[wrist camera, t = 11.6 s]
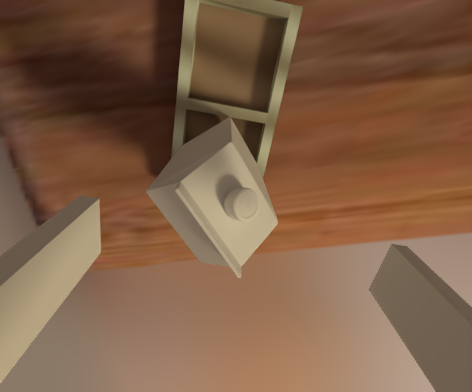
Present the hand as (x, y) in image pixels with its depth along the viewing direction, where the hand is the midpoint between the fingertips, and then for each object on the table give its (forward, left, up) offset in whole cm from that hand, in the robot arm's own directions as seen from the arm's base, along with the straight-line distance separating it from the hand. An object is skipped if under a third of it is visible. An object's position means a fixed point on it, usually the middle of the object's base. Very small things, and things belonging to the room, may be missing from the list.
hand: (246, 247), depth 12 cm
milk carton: (+2, 0, -23) cm, 23 cm away
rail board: (-1, -4, -26) cm, 26 cm away
